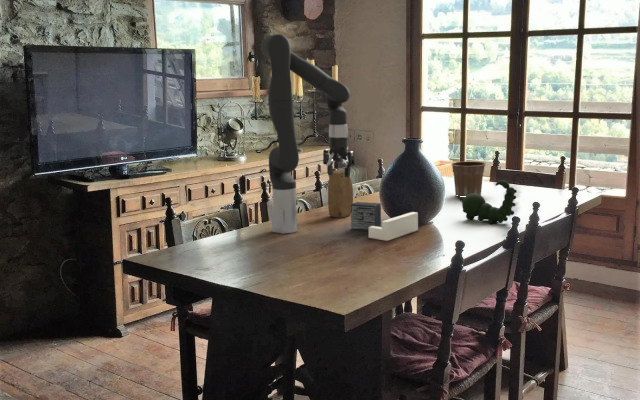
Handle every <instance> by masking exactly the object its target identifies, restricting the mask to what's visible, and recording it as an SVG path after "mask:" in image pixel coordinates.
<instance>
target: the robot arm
mask: <svg viewBox="0 0 640 400" xmlns="http://www.w3.org/2000/svg"><path fill="white" fill-rule="evenodd" d="M291 48H292V47H291V43H290V41H289V39H288V37H286V36H285V35H283V34H280V33H278V34H277V33H276V34H271V35H267V36H266V37H265V38H263V39H262V41H261V43H260V50H261V53H262V54H263V56H264V57H266V58H267V59H269V62H270V71H271V76H270V82H269V87H268V93H267V94H268V96H267V99H268V113H269V116H270V117H269V118H270V119H271V122H272V124H273V126H274V129H275V131H276V135H277V138H278V146H275V147H273V148H272V149H271V150H270V152H269V156H268V170H269V180H270V183H271V186H272V187H271V188H272V208H271V211H270V212H271V213H270V214H271V232H272V233H277V234H282V235H283V234H291V233H295V232H297V231H298V217H297V216H298V214H297V213H298V211H297V182H296V180H295V179H294V177H293V176H292V174H291V172H293V171H295V170H296V169H297V167H298V165H299V161H300V157H299V151H298V144H297V138H296V129H295V118H294V117H295V116H294V102H293V101H294V100H293V91H292V90H293V89H292V79H291V72H292V73H294V74H295V75H296V76H297V77H300V78H301V79H302V80H303V81H305V82H306V83H307V84H309V85H310V86H311V87H313V89H315V90H317V91H319V92H321V93H322V92H323V93H324V94H325V95H326V103H327V109H328V113H329V118H328V119H329V120H328V121H329V127H328V147H329V148H326V149H323V152H322V153H323V154H322V155H323V157H322V163H323V164H322V165H326V168H327V169H326V170H327V175H328V176H329V175H333V171H334V169H333V168H334V165H333V164H335V162H340V163H341V164H342V165H343V166H344V169H345V177H349V176H350V177H351V168H353V167H354V166H355V163H356V162H355V152H354V151H352V150H349V151H348V147H349V129H348V112H347V110H346V109H345V108H344V103H346V102H348V100H349V99H350V96H351V93H350V89H349V88H348V87H347V86H346V85H345V84H343V83H342V82H340V81H339V80H337V79H335V78H333V77H331V76H330V75H329V74H327V73H326V72H324V70H322V69H321V68H319V67H318V66H316V65H315V64H313V63H311V62H309V61H308V60H306V59H303V58H302V57H300V56H298V55H297V54H295V53H294V52H293V51H292V50H291Z"/></svg>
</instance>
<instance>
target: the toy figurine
mask: <svg viewBox="0 0 640 400" xmlns="http://www.w3.org/2000/svg"><path fill="white" fill-rule="evenodd" d="M495 186H502V188H503V189H506V190H505V194H504V196H503V197H504V198H503V200H502V203H501V205H500V207H496V206H493V205H491V203H488V202H486V199H485V198H484V197H483V196H482V194H481V195H479V194H476V193H472V194H469V195H467V196H466V197H460V196H458V197H457V199H458V201H460V202H461V205H462V206H461V207H462V212H463V213H465V214H466V215H465V217H466V220H468V219H472V220H474V219H475V217H477V221H478V222H480V223H482V222H483V221H484V220H485V221H486V220H487V223H488V224H489V223H492V224H493V223H497V221H498V223H499V224H502V223H503V222H507V221H508V217H510V216H514V214H515V211H514V210H513V209H512V208H513V207H515V206H517V205H516V202H514V201H515V200H516V199H517V196H516V195H515V194H516V193H517V190H516V189H515V188H514V187H512V186H510V183H509V182H508V181H506V180H498V181H497V182H495ZM507 216H508V217H507Z"/></svg>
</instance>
